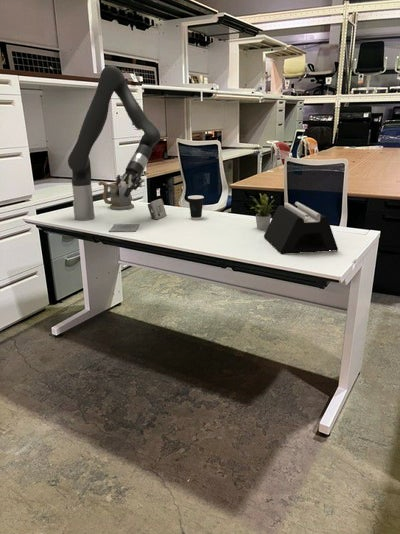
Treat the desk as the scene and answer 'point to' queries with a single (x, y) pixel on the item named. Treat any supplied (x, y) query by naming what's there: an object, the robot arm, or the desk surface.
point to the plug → (123, 200)
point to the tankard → (114, 197)
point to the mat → (124, 228)
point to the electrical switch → (157, 209)
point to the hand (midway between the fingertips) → (121, 195)
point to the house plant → (263, 213)
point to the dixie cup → (196, 206)
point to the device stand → (299, 230)
